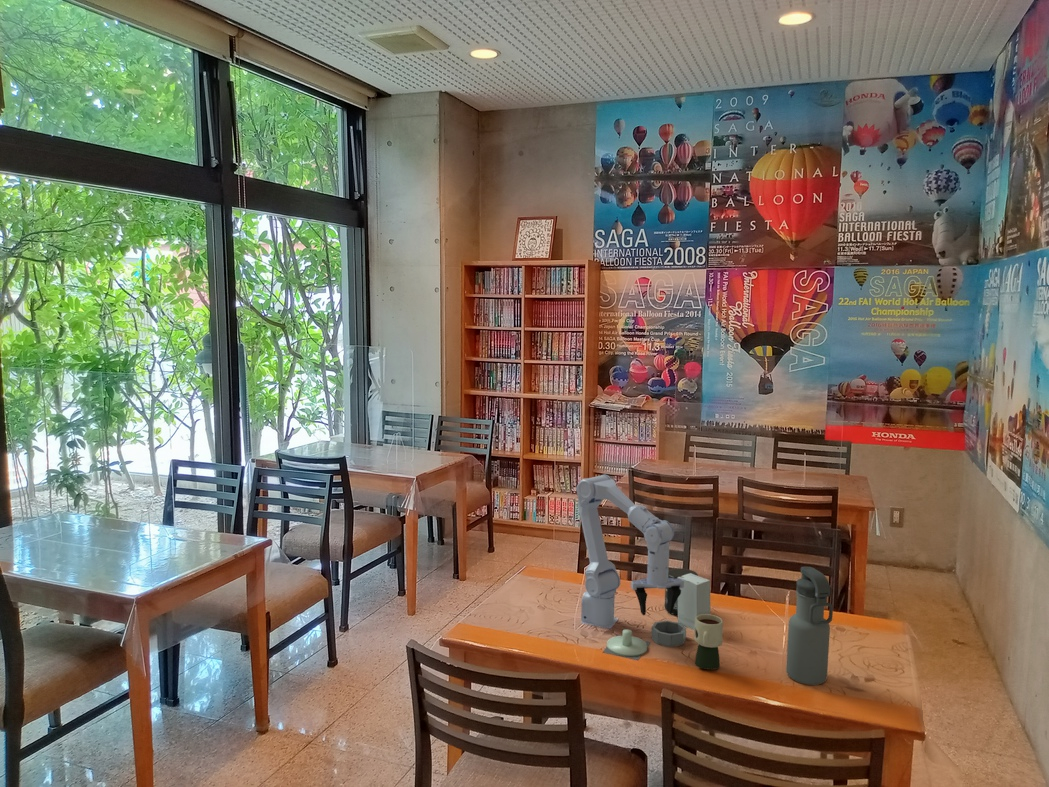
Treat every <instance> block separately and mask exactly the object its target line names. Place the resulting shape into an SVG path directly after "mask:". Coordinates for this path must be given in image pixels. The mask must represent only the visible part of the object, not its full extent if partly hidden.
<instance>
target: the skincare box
mask: <svg viewBox="0 0 1049 787" xmlns="http://www.w3.org/2000/svg"><path fill="white" fill-rule="evenodd" d="M677 579H682V580H683V581H684V588H680V590H681V594H680V596H679V597H678V615H677V623H680V624H681V625H683V626H684V627H685V628H688V629H690V630H692V631H695V617H696V616H697V615H701V614H711V580H710V579H709V578H708V579H707V578H705V577H702V576H699V575H698V576H696V575H694V574H691V573H690V574H686V575H683V576H680V577H678V578H677Z"/></svg>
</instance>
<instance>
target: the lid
mask: <svg viewBox="0 0 1049 787" xmlns="http://www.w3.org/2000/svg"><path fill="white" fill-rule="evenodd" d="M645 641H646V640H644V641H643V639H641V638H639V637H636V636H634V635H633V631H632V630H631V629H628V628H627V629H626V628H625V629H623V630H622V635H620V636H616V635H615V636H613V637H610V638H609V639H608V640H607V642H606V647H607V648H608V649H609V650H610V651H611V652H613V653H615V654H617V655H621V656H638V655H641V656H642V655H644V654H646V652H647V651H648V647H647V644H646V642H645Z"/></svg>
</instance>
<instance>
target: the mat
mask: <svg viewBox="0 0 1049 787" xmlns="http://www.w3.org/2000/svg"><path fill="white" fill-rule="evenodd" d="M615 636H621V635H620V634H616V635H615ZM642 640H643V639H642ZM643 641H645V642H646V644H647V648H648V647H649V645H650V644H651V641H647V640H643ZM602 653H604V654H608V655H612V656H616V657H622V658H626V659H628V660H629V659H630V660H635V661H639V660H640V658H641V657H642V655H638V656H621V655H617V654H615V653H613V652H611V651H610V650H609V649H608V648H607V646H606V647H605V648H604V649H603V651H602Z"/></svg>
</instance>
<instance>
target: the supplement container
mask: <svg viewBox="0 0 1049 787" xmlns="http://www.w3.org/2000/svg"><path fill="white" fill-rule="evenodd" d="M690 573H691V574H694V575H696V576H699V574H698V573H697V572H696V571H695V570H692V569H689V568H682V567H680V568H679V567H678V568H671V569H669V570H668V578H674V579H677V578H678V577H680V576H683V575H686V574H690ZM667 601H668V595H667V588H665V589H664V605H663V607H664V610H665V611H667ZM671 615H674V616H678V599H677V600H676V603H675V605H674V608H673V611H672V614H671Z"/></svg>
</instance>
